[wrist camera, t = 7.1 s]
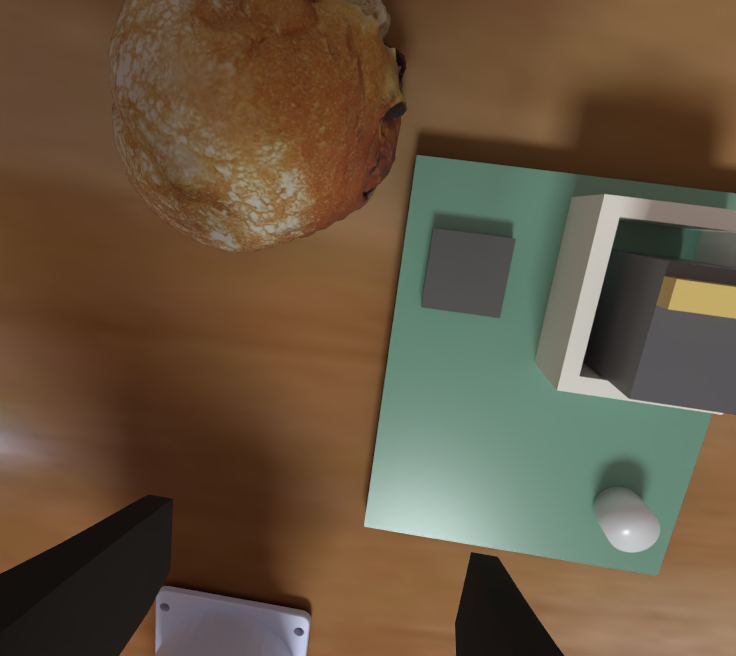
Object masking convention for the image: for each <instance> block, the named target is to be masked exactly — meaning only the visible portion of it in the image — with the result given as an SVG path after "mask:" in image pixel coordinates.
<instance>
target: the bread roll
mask: <svg viewBox="0 0 736 656" xmlns="http://www.w3.org/2000/svg"><path fill="white" fill-rule="evenodd" d="M390 19H391V17H390V15H389V14H388V12H387V11H386V8H385V6H384V5H383V3H382V0H124V3H123V6H122V9H121V12H120V15H119V18H118V21H117V23H116V25H115V28H114V32H113V35H112V37H111V45H110V49H109V51H108V53H109V59H110V74H109V75H110V88H111V93H112V98H113V100H114V104H113V107H112V115H113V131H114V141H115V144H116V147H117V150H118V153H119V156H120V159H121V162H122V165H123V168H124V171H125V172H126V174H127V176H128V178H129V181H130V183H131V184H132V185H133V187H134V188H135V190H136V191H137V193H138V194H139V195H140V197H141V198H142V199H143V200H144V202H145V203H146V204H147V205H148V206H149V207H150V208H151V209H152V211H153V212H154V213H155V214H157V215H158V216H159V217H160V218H161V219H162V220H163V221H165V222H166V223H167V224H168V225H169V226H171V227H173V228H174V229H176V230H177V231H179V232H180V233H182V234H184V235H186V236H188V237H189V238H191V239H193V240H194V241H196V242H198V243H201V244H205V245H208V246H211V247H213V248H216V249H219V250H222V251H227V252H233V253H237V252H251V251H258V250H260V249H262V248H264V249H266V248H270V247H271V248H272V247H275V246H277V245H278V244H284V243H287V242H290V241H292V240H293V239H295V238H297V237H299V238H302V237H307V236H309V235H312V234H314V233H315V232H316V231H318V230H323V229H326V228H327V227H329V226H330V225H331V224H333V223H334V222H335V221H340V220H343V219H344V218H345V217H347V216H348V215H349V214H350V213H352V212H353V211H355V210H358V209H360V208H361V207H362V206H364V205H365V204H366V203H367V202H368V200H369V199H370V197H371V196H372V195H373V193H374V191H375V189H376V187H377V185H378V184H380V183H381V182H382V180H383V179H384V178H385V177H386V176H387V175H388V173H389V172H390V169H391V167H392V164H393V162H394V161H395V151H396V146H397V141H398V135H399V129H400V124H401V116H402V115H403V114H404V113H405V111H406V110H407V108H406V102H405V99H404V96H403V94H402V91H401V88H400V87H401V86H402V77H403V74H404V72H405V69H406V61H405V56H404V55H403V54H401V53H399V51H398V50H396V49H395V48H393V47H390V46H388V45H387V44H386V43H385V42H384V41H383V40H384V38H385V36H386V34H387V32H388V29H389V26H390Z"/></svg>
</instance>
